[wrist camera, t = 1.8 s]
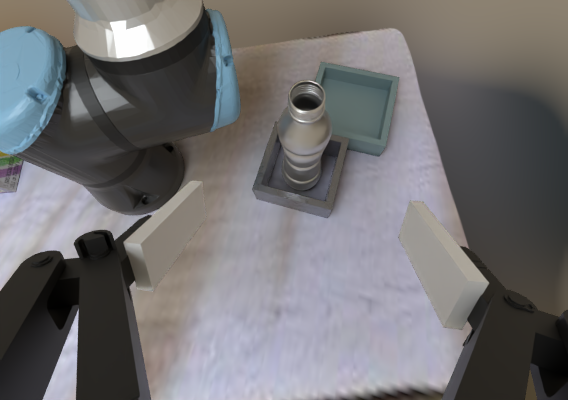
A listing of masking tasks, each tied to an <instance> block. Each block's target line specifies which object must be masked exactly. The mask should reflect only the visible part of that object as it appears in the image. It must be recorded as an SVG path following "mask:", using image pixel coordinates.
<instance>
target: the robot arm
mask: <svg viewBox="0 0 568 400" xmlns="http://www.w3.org/2000/svg"><path fill="white" fill-rule="evenodd" d="M67 1H68V3H69V4H70V5H71V7H72V8H73V9H74V11H75V22H74V31H73V33H74V39H75V41H76V43H77V45H76V46H72V47H68V48H65V47H63V45H62V44H61V43H60V41H59V40H58V39H56V38H55V37H53V36H51V35H49V34H48V33H46V32H45V31H43V30H40V29H36V28H34V27H29V26H24V27H23V26H21V27H15V28H11V29H8V30H5V31H2V32H0V151H1V152H3V153H5V154H9V155H13V156H15V157H17V158H20V159H22V160H25V161H27V162H29V163H32V164H34V165H36V166H39V167H41V168H44V169H46V170H48V171H51V172H53V173H56V174H58V175H60V176H63V177H65V178H68V179H70V180H72V181H75V182H77V183H79V184H82V185H83V186H84V187H85V188H86V189H87V190H88V191H89V192H90V193H91V194H92V195H93V196H94V197H95V198H96V199H97V201H99V202H100V203H101V204H102V205H104V206H105V207H107V208H109V209H111V210H113V211H116V212H119V213H122V214H126V215H141V214H146V213H149V212H152V211H154V210H156V209H158V208H160V207H161V206H163V205H164V204H165V203H166V204H165V205H164V206H163V207H161V208H160V209H159V210H158V211H157V212H156V213H155V214H154V215H153V216H152V215H147V216H145V217H143V218H141V219H139V220H138V221H137V222H136V223H135V224H133V226H131V227H130V228H129V229H128V230H127V231H125V232H124V233H123V234H122V235H121V236H119V237H118V238H117V239H116V240H115V241H114V238H113V235H112V233H111V232H110V231H107V230H96V231H92V232H88V233H86V234H84V235H82V236H80V237H79V238H77V239H76V240H75V242H74V246H75V248H76V250H77V253H78V255H79V258H73V259H64V258H63V255H62V254H61V253H60V252H59V251H45V252H41V253H38V254H35V255H33V256H31V257H30V258H28V259H26V260H25V261H24V262H23V263H22V264H21V265H20V266H19V267H18V269H17V270H16V271H15V273H14V274H13V275H12V276H11V278H10V279H9V280H8V282H7V283H6V284H5V286H4V287H3V288H2V290H1V291H0V400H42V399H43V397H44V394H45V392H46V389H47V387H48V384H49V382H50V379H51V377H52V374H53V372H54V369H55V367H56V364H57V362H58V359H59V356H60V354H61V351H62V349H63V346H64V344H65V341H66V339H67V336H68V334H69V331H70V329H71V326H72V324H73V321H74V319H75V316H76V314H77V311H78V308H79V320H78V352H77V385H76V400H151V396H150V391H149V386H148V380H147V375H146V370H145V364H144V359H143V354H142V348H141V343H140V338H139V332H138V327H137V322H136V316H135V311H134V306H133V300H132V295H131V291H130V287H129V286H130V285H131V284H132V283H133V282H134V281H135V282H136V286H137V289H139V290H147V291H154V289H155V288H156V287H157V285H158V284H159V283H160V281H161V280H162V278H163V277H164V276H165V274H166V273H167V271H168V270H169V269H170V267H171V266H172V265H173V263H174V262H175V260H176V259H177V258H178V256H179V255H180V254H181V252H182V251H183V249H184V248H185V247H186V245H187V244H188V242H189V241H190V240H191V238H192V237H193V236H194V234H195V233H196V231H197V230H198V229H199V227H200V226H201V224H202V223H203V222H204V220H205V219H206V209H205V200H204V191H203V182H201V181H190V182H189V183H188V184H187V185H186V186H185V187H183V188H182V189H181V190H180V191H179V192H178V193H177V194H176V195H175V196H174V194H175V193H176V192H177V190H178V188H179V186H180V184H181V182H182V179H183V175H184V162H183V157H182V155H181V153H180V151H179V149H178V148H177V147H176V146H175V145H174V143H173V141H177V140H180V139H184V138H188V137H192V136H196V135H199V134H203V133H207V132H213V131H214V130H215V129H217V128H220V127H223V126H226V125H229V124H232V123H233V122H235V121H236V120H237V119H238V117H239V115H240V110H241V104H240V94H239V87H238V80H237V75H236V70H235V65H234V63H233V56H232V50H231V45H230V40H229V36H228V32H227V29H226V25H225V22H224V19H223V17H222V14H221V13H220V12H219V11H217V10H211V9H206V10H205V7H204V4H203V0H67ZM173 196H174V197H173ZM398 238H399V240H400V242H401V244H402V246H403V248H404V250H405V252H406V254H407V256H408V258H409V260H410V262H411V264H412V266H413V268H414V270H415V272H416V274H417V276H418V278H419V280H420V282H421V284H422V286H423V288H424V290H425V292H426V294H427V296H428V298H429V300H430V302H431V304H432V306H433V308H434V310H435V312H436V314H437V316H438V318H439V320H440V322H441V324H442V326H443V327H444V328H452V329H460V330H462V328H463V327H464V325H465V323H466V322H467V320H468V322H469V323H470V325H471V327H472V328H473V329H472V330H471V332H470V334H469V335H468V337H467V339H466V340H465V342H464V343H463V346H464V348H463V350H462V353H461V355H460V357H459V360H458V362H457V364H456V367H455V369H454V372H453V374H452V376H451V379H450V381H449V383H448V386H447V388H446V390H445V393H444V395H443V398H442V400H525V395H526V389H527V382H528V376H529V370H530V369H531V374H532V378H533V382H534V386H535V391H536V396H537V400H568V310H566V311H564V312H563V313H562V315H561V316H560V317H558V316H554V315H551V314H548V313H545V312H541V311H538V309H537V308H536V306H535V305H534V304H533V303H532V302H531V301H530V300H528V299H527V298H526V297H524V296H522V295H520V294H519V293H516V292H513V291H511V290H506V289H505V288H504V286H503V285H502V284H501V283H500V282H499V281H498V280H497V278H496V277H495V276H494V275H493V274H492V273H491V271H490V270H489V269H487V267H486V266H485V265H484V263H482V261H481V260H480V259H479V258H478V257H477V256H476V255H475V253H473V252H472V251H470V250H469V249H468V248H466V247H461V246H459V245H458V244H457V243H456V242H455V240H454V239H453V238H452V237H451V236H450V234H449V233H448V232H447V231H446V229H445V228H444V227H443V226H442V224H441V223H440V222H439V221H438V220H437V218H436V217H435V216H434V215H433V213H432V212H431V211H430V210H429V209H428V207H427V206H426V205H425V204H424V202H421V201H410V202H409V205H408V209H407V212H406V215H405V218H404V221H403V224H402V227H401V230H400V234H399V237H398Z"/></svg>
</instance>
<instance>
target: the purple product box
mask: <svg viewBox="0 0 568 400" xmlns="http://www.w3.org/2000/svg"><path fill="white" fill-rule="evenodd" d="M22 162H23V160H22V159H20V158H17V157H15V156H13V155H9V154H5V153H3V152H1V151H0V193H7V192H16V189H17V184H18V180H19V175H20V171H21V166H22Z"/></svg>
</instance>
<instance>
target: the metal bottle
mask: <svg viewBox="0 0 568 400" xmlns="http://www.w3.org/2000/svg"><path fill="white" fill-rule="evenodd" d="M325 99H326V97H325V91H324V89H323V87H322V86H321V85H320V84H318V83H317V82H315V81H311V80H303V81H299V82H297V83H295V84H294V85H293V86H292V87H291V89H290V91H289V95H288V107H286V108H285V110H284V111H283V112H282V114H281V116H280V118H279V121H278V127H277V131H278V136H279V139H280V142H281V145H282V147H283V151H284V159H283V163H282V176H283V178H284V180H285V181H286V183H287V184H288V185H289V186H290V187H291V188H293V189H295V190H307V189H310V188H311V187H313V186H314V185H315V184H316V183H317V182H318V180H319V179H320V176H321V172H322V170H321V156H322V153H323V151H324V149H325V148H326V146H327V144H328V142H329V140H330V137H331V135H332V123H331V119H330V116H329V114H328V112H327V111H326V109H325Z"/></svg>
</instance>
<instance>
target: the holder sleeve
mask: <svg viewBox="0 0 568 400" xmlns="http://www.w3.org/2000/svg"><path fill="white" fill-rule="evenodd" d="M277 127H278V122H275V124H274V127H273V130H272V133H271V136H270V139H269V142H268V145H267V148H266V151H265V154H264V156H263V159H262V162H261V165H260V168H259V171H258V174H257V177H256V180H255V183H254V185H253V188H252V190H253V192H254V194H255V196H256V198H257V199H259V200H262V201H266V202H270V203H273V204H277V205H281V206H284V207H288V208H292V209H295V210H299V211H303V212H307V213H310V214H314V215H318V216H321V217H325V218H328V216H329V214H330V212H331V211H332V207H333V203H334V199H335V195H336V191H337V186H338V182H339V178H340V174H341V170H342V166H343V162H344V158H345V154H346V150H347V146H348V142H349V138H345V137H341V136H337V135H331V137H330V140H329V142H328V144H327V146H326V148H325V149H324V151H323V153H322V154H326V155H330V156H334V157H336V160H335V164H334V168H333V172H332V176H331V180H330V184H329V188H328V192H327V196H326V200H325V202H324V201H321V200H317V199H313V198H309V197H305V196H302V195H298V194H294V193H290V192H287V191H283V190H279V189H275V188H271V187H268V183H269V180H270V177H271V173H272V170H273V167H274V164H275V161H276V158H277V155H278V152H279V149H280V146H281V142H280V139H279V136H278V131H277Z"/></svg>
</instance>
